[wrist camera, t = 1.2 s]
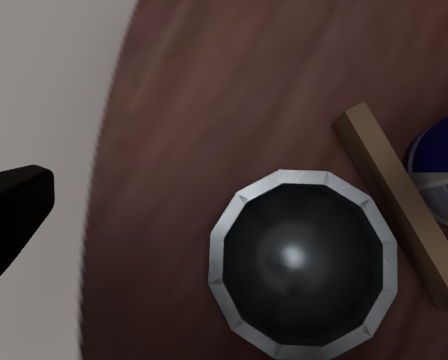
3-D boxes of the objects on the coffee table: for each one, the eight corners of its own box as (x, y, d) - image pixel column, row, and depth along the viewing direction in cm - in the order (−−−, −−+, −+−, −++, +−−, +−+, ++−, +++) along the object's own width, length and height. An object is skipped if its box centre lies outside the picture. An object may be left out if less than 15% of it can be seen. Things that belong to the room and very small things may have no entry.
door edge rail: (454, 297, 19) (487, 307, 17) (436, 307, 19) (466, 318, 16) (348, 116, 20) (364, 101, 18) (331, 126, 20) (344, 111, 18)
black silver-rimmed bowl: (416, 297, 19) (436, 305, 17) (260, 382, 19) (263, 399, 17) (328, 145, 20) (338, 136, 18) (180, 222, 20) (174, 222, 18)
